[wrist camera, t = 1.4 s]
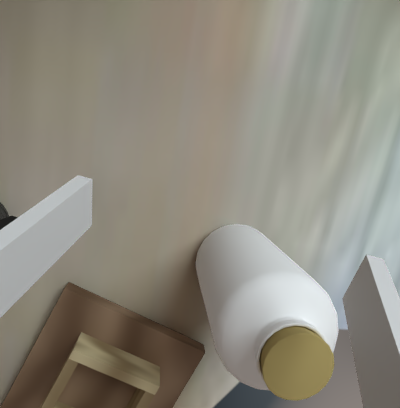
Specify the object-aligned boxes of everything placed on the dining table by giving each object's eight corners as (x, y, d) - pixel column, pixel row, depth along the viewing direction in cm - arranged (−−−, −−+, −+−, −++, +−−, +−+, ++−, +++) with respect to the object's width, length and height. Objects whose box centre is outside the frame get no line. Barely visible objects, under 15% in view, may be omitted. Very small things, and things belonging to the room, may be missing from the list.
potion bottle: (184, 284, 36) (202, 417, 18) (209, 211, 35) (255, 277, 17) (255, 304, 37) (337, 447, 20) (282, 234, 36) (394, 318, 18)
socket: (1, 408, 36) (-22, 444, 32) (68, 282, 35) (54, 301, 30) (135, 459, 39) (131, 499, 34) (203, 344, 37) (208, 370, 33)
